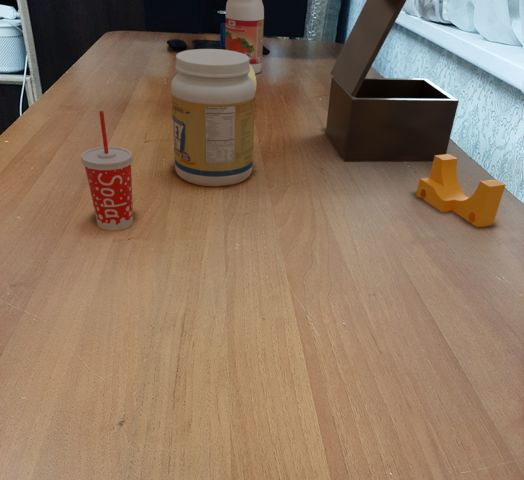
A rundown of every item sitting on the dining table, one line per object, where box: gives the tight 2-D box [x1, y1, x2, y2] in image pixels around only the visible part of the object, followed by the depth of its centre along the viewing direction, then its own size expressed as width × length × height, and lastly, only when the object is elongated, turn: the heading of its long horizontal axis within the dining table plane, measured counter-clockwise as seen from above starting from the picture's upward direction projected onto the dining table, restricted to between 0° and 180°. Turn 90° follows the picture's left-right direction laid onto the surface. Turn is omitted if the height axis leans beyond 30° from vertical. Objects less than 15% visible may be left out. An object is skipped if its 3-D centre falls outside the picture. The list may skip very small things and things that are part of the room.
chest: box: [325, 76, 460, 162], centre depth 101 cm, size 18×15×10 cm
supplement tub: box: [170, 48, 256, 187], centre depth 85 cm, size 12×12×17 cm
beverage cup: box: [80, 110, 134, 232], centre depth 70 cm, size 6×6×14 cm
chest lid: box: [329, 0, 407, 97], centre depth 91 cm, size 18×15×5 cm
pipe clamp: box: [415, 153, 506, 228], centre depth 79 cm, size 12×4×6 cm, turn 22°
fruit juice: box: [225, 0, 265, 75], centre depth 139 cm, size 9×9×28 cm
